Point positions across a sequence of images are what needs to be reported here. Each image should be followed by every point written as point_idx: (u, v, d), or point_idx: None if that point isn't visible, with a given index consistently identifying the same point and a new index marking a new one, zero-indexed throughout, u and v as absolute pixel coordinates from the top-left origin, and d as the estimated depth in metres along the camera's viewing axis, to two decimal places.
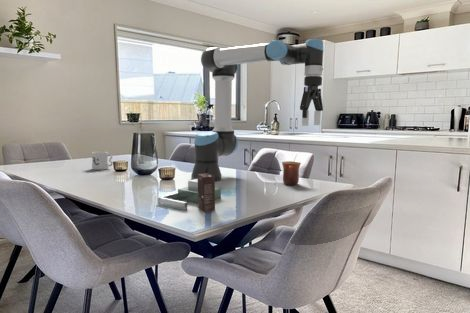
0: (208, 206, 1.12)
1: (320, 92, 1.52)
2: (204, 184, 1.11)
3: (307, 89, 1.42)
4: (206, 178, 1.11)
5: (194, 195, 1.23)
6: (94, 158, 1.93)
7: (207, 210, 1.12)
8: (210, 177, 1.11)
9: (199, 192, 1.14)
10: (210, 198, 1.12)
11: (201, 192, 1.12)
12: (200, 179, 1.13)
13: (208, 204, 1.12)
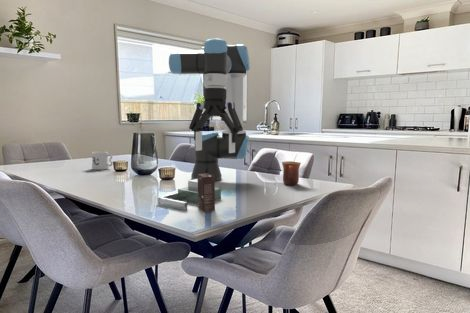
0: (208, 206, 1.12)
1: (229, 107, 1.09)
2: (204, 184, 1.11)
3: None
4: (206, 178, 1.11)
5: (194, 195, 1.23)
6: (94, 158, 1.93)
7: (207, 210, 1.12)
8: (210, 177, 1.11)
9: (199, 192, 1.14)
10: (210, 198, 1.12)
11: (201, 192, 1.12)
12: (200, 179, 1.13)
13: (208, 204, 1.12)
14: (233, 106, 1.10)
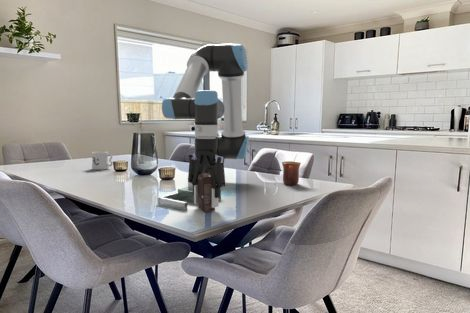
0: (208, 206, 1.12)
1: (218, 162, 1.09)
2: (204, 184, 1.11)
3: None
4: (206, 178, 1.11)
5: None
6: (94, 158, 1.93)
7: (207, 210, 1.12)
8: (210, 177, 1.11)
9: (199, 192, 1.14)
10: (210, 198, 1.12)
11: (201, 192, 1.12)
12: (200, 179, 1.13)
13: (208, 204, 1.12)
14: (222, 161, 1.10)
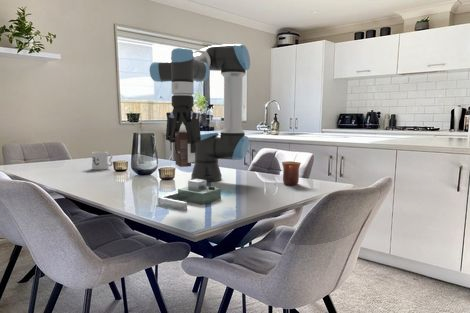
0: (184, 161, 1.16)
1: (193, 117, 1.13)
2: (180, 139, 1.15)
3: None
4: (182, 133, 1.15)
5: (194, 195, 1.23)
6: (94, 158, 1.93)
7: (183, 165, 1.16)
8: (186, 133, 1.15)
9: (176, 148, 1.18)
10: (186, 153, 1.16)
11: (177, 148, 1.17)
12: (176, 135, 1.17)
13: (184, 160, 1.16)
14: (197, 117, 1.14)
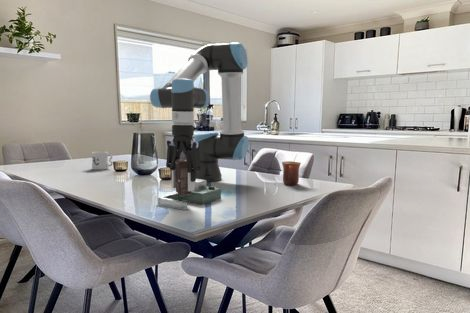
0: (184, 189, 1.18)
1: (193, 147, 1.14)
2: (180, 168, 1.16)
3: None
4: (182, 162, 1.16)
5: (194, 195, 1.23)
6: (94, 158, 1.93)
7: (183, 193, 1.18)
8: (186, 162, 1.17)
9: (176, 176, 1.19)
10: (186, 182, 1.18)
11: (178, 176, 1.18)
12: (176, 164, 1.18)
13: (184, 188, 1.18)
14: (197, 146, 1.15)
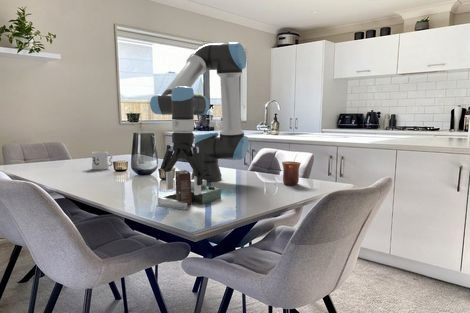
0: (184, 201, 1.18)
1: (194, 152, 1.14)
2: (181, 180, 1.17)
3: None
4: (182, 175, 1.17)
5: (194, 195, 1.23)
6: (94, 158, 1.93)
7: None
8: (186, 174, 1.17)
9: (177, 188, 1.20)
10: (187, 194, 1.18)
11: (178, 188, 1.18)
12: (177, 176, 1.19)
13: (185, 200, 1.18)
14: (198, 151, 1.15)
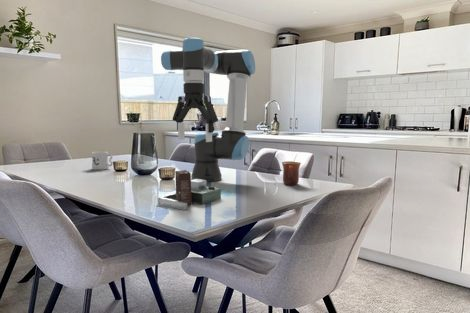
0: (184, 201, 1.18)
1: (205, 100, 1.20)
2: (181, 180, 1.17)
3: None
4: (182, 175, 1.17)
5: (194, 195, 1.23)
6: (94, 158, 1.93)
7: None
8: (186, 174, 1.17)
9: (177, 188, 1.20)
10: (187, 194, 1.18)
11: (178, 188, 1.18)
12: (177, 176, 1.19)
13: (185, 200, 1.18)
14: (209, 99, 1.21)
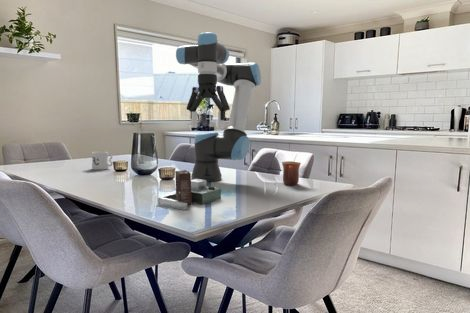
0: (184, 201, 1.18)
1: (218, 90, 1.30)
2: (181, 180, 1.17)
3: None
4: (182, 175, 1.17)
5: (194, 195, 1.23)
6: (94, 158, 1.93)
7: None
8: (186, 174, 1.17)
9: (177, 188, 1.20)
10: (187, 194, 1.18)
11: (178, 188, 1.18)
12: (177, 176, 1.19)
13: (185, 200, 1.18)
14: (221, 89, 1.30)
